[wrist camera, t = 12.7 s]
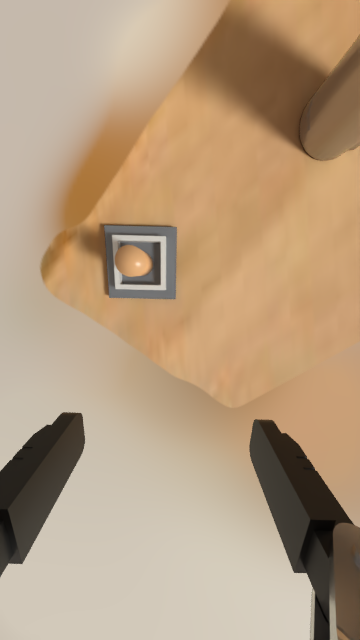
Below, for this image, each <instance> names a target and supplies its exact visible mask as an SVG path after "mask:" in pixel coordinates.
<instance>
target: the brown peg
mask: <svg viewBox="0 0 360 640" xmlns="http://www.w3.org/2000/svg"><path fill="white" fill-rule="evenodd" d="M115 265H116V267H117V269H118V271H119V272H120V273H122V274H123V275H125V276H129V277H133V276H145V275H147V274H149V273H150V272H151V271H152V269H153V260H152V258H151V256H150V255H149V254H147V253H146V252H144V251H142V250H141V249H139V248H137V247H135V246H133V245H125V246H122V247H121V248H119V249H118V251H117V252H116V255H115Z"/></svg>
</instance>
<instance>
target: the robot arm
mask: <svg viewBox="0 0 360 640" xmlns="http://www.w3.org/2000/svg"><path fill="white" fill-rule="evenodd" d="M299 132H300V140H301V143H302V146H303V147H304V149H305V151H306V152H307V153H308V154H309V155H310V156H312V157H313V158H315V159H318V160H331V159H334V158H336V157H338V156H340V155H341V154H343V153H344V152H346V151H347V150H354V149H356V148H357V147H358V146H360V35H359V36H358V38H357V39H356V40H355V42H354V43H353V44H352V46H351V47H350V48H349V50H348V51H347V52H346V54H345V55H344V56H343V58H342V59H341V60H340V61H339V63H338V64H337V65H336V67H335V68H334V69H333V71H332V72H331V73H330V75H329V76H328V77H327V79H326V80H325V81H324V83H323V84H322V85H321V87H320V88H319V89H318V90H317V92H316V93H315V94H314V96H313V97H312V98H311V100H310V101H309V103H308V104H307V106H306V107H305V109H304V112H303V114H302V117H301V121H300V130H299ZM84 444H85V436H84V427H83V417H82V414H81V413H67V412H66V413H65V412H64V413H62V414H61V415H60V416H59V417H58V418H57V419H56V420H55V421H54V423H53V424H52V425H46V426H45V427H44V428H42V429H41V430H39V431H38V432H37V433H35V434H34V435H33V436H32V437H31V438H30V439H29V440H28V441H27V442H26V444H25V445H24V446H23V448H22V449H20V450H19V451H18V452H17V454H16V455H15V456H14V457H13V459H12V460H10V461H9V462H8V463H7V465H6V466H5V467H4V468H3V469H2V470H1V471H0V576H1V575H2V573H3V571H4V570H5V568H6V566H7V565H8V563H12V564H22V563H23V561H24V560H25V558H26V556H27V554H28V552H29V551H30V549H31V547H32V545H33V543H34V541H35V539H36V538H37V536H38V534H39V532H40V530H41V528H42V527H43V524H44V523H45V521H46V519H47V517H48V515H49V513H50V512H51V510H52V508H53V506H54V504H55V502H56V501H57V499H58V497H59V495H60V493H61V491H62V490H63V488H64V486H65V484H66V482H67V480H68V479H69V477H70V474H71V473H72V471H73V469H74V467H75V466H76V464H77V462H78V460H79V458H80V456H81V454H82V452H83V449H84ZM250 457H251V460H252V463H253V466H254V469H255V471H256V474H257V477H258V479H259V482H260V484H261V487H262V489H263V492H264V495H265V497H266V500H267V503H268V505H269V508H270V511H271V513H272V516H273V518H274V521H275V524H276V526H277V529H278V532H279V534H280V537H281V539H282V542H283V545H284V547H285V550H286V553H287V555H288V558H289V560H290V563H291V566H292V569H293V571H294V573H307V575H308V577H309V579H310V582H311V584H312V587H313V589H312V599H311V623H310V624H311V625H310V640H360V528H359V527H357V526H355V525H354V524H353V523H352V521H351V520H350V519H349V517H348V516H347V514H346V513H345V511H344V510H343V508H342V507H341V505H340V504H339V503H338V501H337V500H336V498H335V497H334V495H333V494H332V492H331V491H330V490H329V488H328V487H327V485H326V484H325V482H324V481H323V479H322V478H321V476H320V475H319V474H318V472H317V471H315V468H314V467H313V465H312V464H311V462H310V461H309V460H308V459H307V456H306V455H305V453H304V452H303V450H302V449H301V447H300V446H299V445H298V444H297V443H296V442H295V441H294V440H293V439H292V438H291V437H289V435H287V434H286V433H281V432H280V430H279V429H278V427H277V426H276V424H275V423H274V421H272V420H257V419H256V420H254V423H253V428H252V434H251V440H250Z"/></svg>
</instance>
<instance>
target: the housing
mask: <svg viewBox="0 0 360 640" xmlns="http://www.w3.org/2000/svg"><path fill="white" fill-rule="evenodd" d="M104 229H105V243H106V257H107V271H108V285H109V298H147V299H176V246H177V227H151V226H112V225H104ZM125 245H133V246H135V247H137V248H139V249H141V250H142V251H144V252H146V253H147V254H149V255H150V256H151V258H152V260H153V269H152V271H151V272H150V273H149V274H147V275H145V276H133V277H129V276H125V275H123V274H122V273H120V272H119V271H118V269H117V267H116V265H115V255H116V252H117V251H118V249H119V248H121V247H122V246H125Z"/></svg>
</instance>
